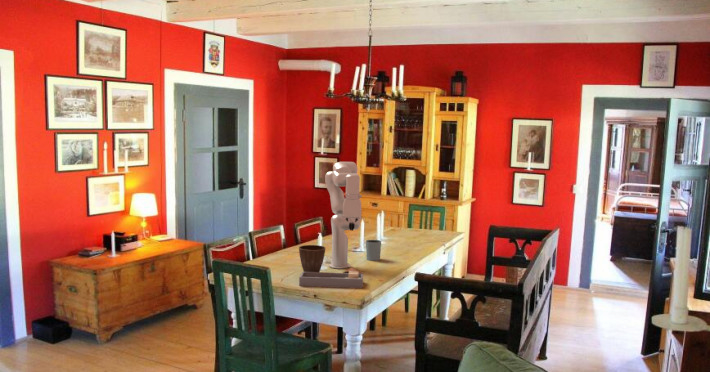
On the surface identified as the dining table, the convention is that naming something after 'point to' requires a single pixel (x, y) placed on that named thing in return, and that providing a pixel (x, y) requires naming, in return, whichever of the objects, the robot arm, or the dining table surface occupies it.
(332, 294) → the dining table surface
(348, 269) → the sunglasses case
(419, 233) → the dining table surface
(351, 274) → the maple block
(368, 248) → the grey tapered cup
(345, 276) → the eyeshadow palette tray
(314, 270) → the plant pot
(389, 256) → the dining table surface
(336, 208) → the robot arm
